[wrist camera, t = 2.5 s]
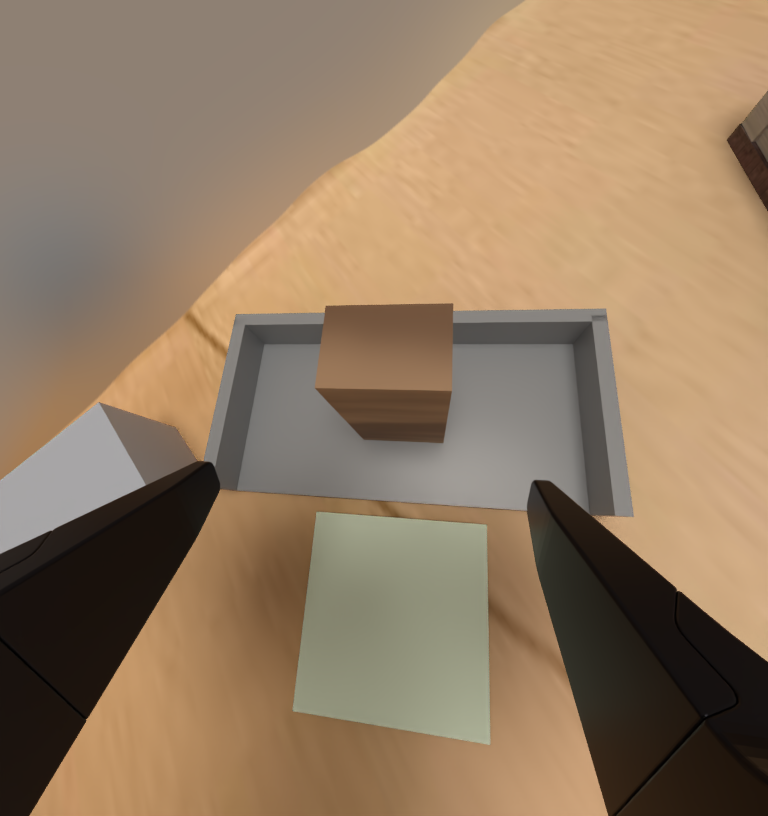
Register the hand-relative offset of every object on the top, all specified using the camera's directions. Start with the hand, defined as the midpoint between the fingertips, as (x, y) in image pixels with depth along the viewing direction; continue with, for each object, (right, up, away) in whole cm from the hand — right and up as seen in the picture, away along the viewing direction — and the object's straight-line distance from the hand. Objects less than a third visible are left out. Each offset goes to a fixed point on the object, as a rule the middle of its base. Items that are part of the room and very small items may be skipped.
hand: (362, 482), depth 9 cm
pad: (+1, -9, +9) cm, 13 cm away
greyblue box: (-16, -5, +13) cm, 21 cm away
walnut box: (+2, +2, +12) cm, 12 cm away
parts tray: (+2, +2, +12) cm, 13 cm away
